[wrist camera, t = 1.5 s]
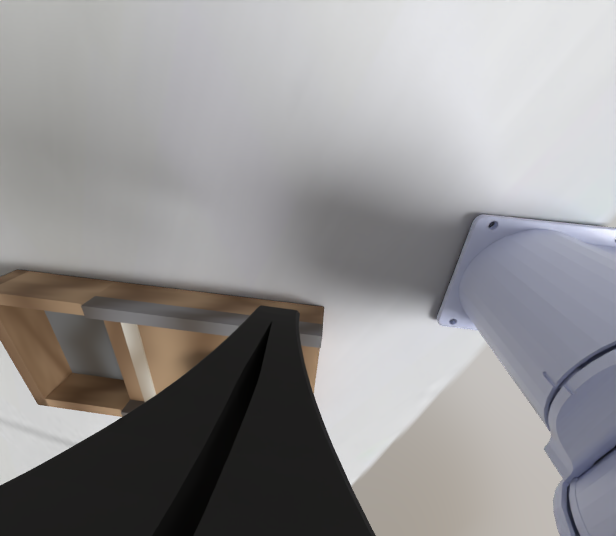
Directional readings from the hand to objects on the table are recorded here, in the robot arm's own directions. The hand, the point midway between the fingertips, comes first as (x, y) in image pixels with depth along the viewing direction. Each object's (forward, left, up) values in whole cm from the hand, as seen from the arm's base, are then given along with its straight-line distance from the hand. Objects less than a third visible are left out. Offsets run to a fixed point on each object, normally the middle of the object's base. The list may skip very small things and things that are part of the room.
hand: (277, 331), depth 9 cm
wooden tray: (+10, +11, -9) cm, 18 cm away
